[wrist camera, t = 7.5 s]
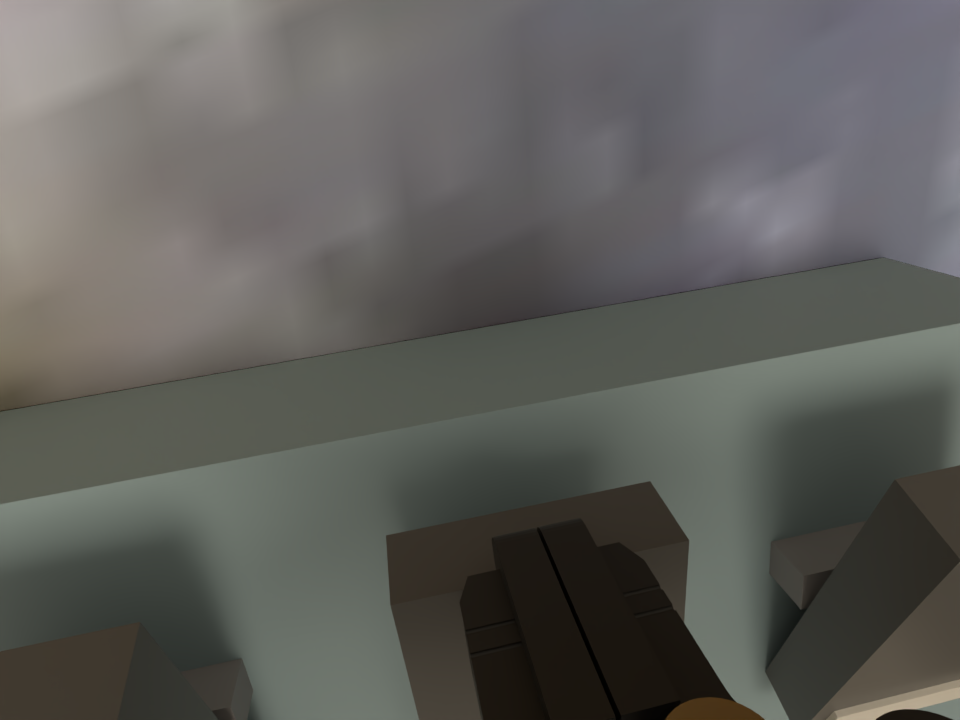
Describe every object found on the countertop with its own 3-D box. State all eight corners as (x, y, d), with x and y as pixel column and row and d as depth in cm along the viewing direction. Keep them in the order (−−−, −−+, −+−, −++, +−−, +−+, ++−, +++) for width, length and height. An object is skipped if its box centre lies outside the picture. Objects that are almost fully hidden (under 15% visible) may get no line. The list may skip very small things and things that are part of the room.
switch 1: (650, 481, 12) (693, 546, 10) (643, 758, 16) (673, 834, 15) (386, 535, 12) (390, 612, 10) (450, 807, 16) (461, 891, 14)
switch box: (883, 257, 20) (1120, 320, 14) (846, 607, 25) (1006, 769, 19) (-35, 417, 17) (-268, 589, 11) (134, 774, 22) (42, 1031, 16)
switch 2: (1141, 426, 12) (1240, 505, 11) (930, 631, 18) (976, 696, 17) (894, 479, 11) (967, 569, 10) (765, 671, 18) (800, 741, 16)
